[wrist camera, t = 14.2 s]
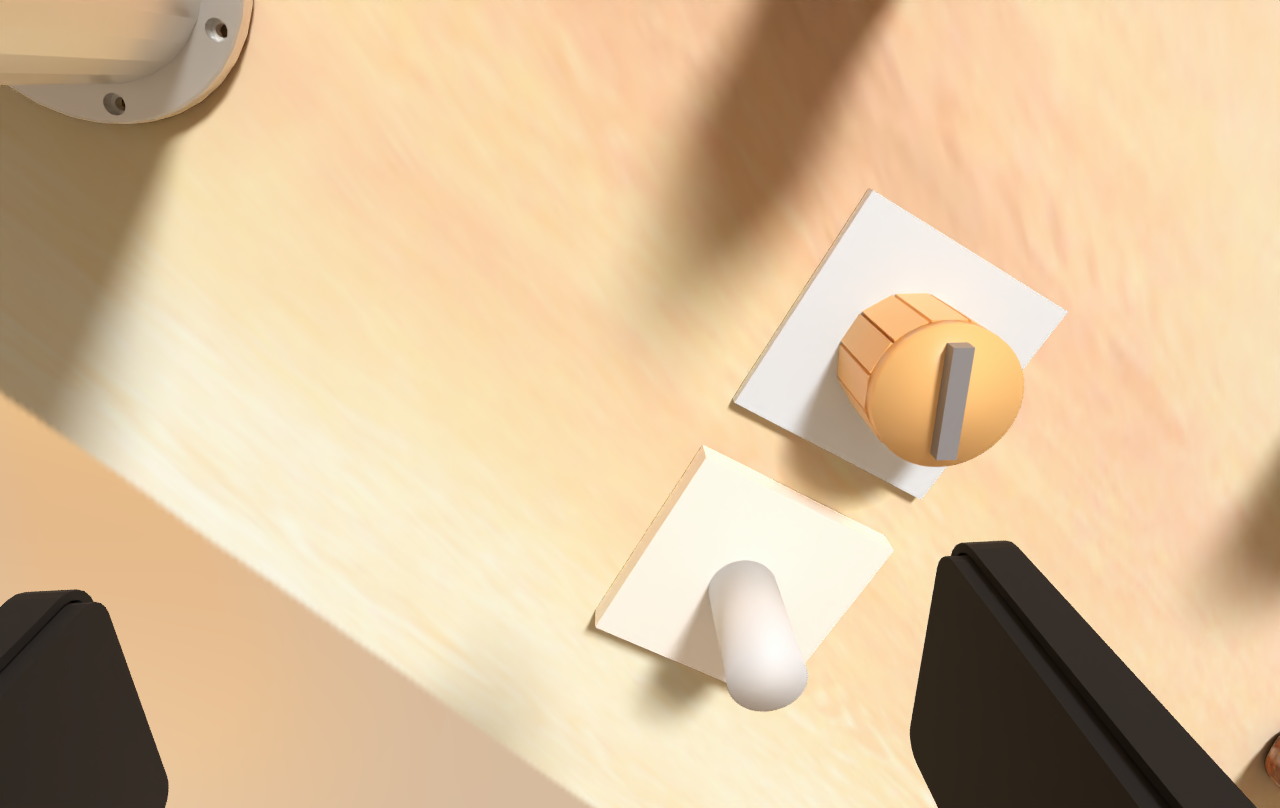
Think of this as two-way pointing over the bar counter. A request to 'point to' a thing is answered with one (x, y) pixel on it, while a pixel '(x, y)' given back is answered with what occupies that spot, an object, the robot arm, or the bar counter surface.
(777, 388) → the mat
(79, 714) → the robot arm
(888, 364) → the knob
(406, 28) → the bar counter surface
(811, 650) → the post block
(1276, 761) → the sauce bottle
